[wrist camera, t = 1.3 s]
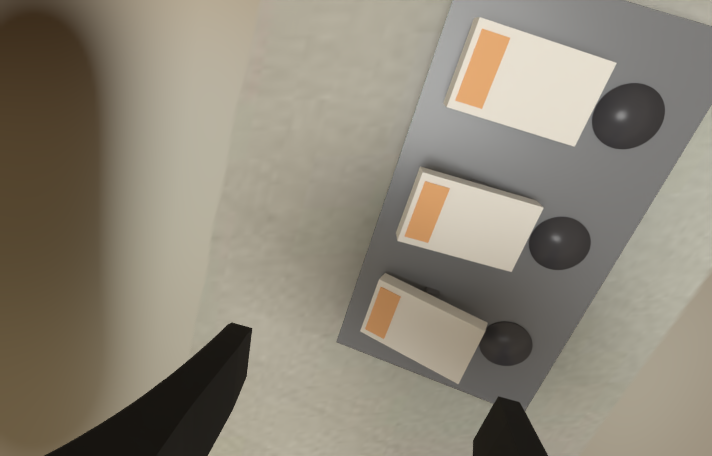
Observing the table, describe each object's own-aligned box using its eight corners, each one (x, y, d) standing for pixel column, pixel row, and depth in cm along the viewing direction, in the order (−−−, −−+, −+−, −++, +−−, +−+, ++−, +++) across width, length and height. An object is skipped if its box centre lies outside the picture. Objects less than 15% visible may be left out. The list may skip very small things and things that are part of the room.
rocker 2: (505, 263, 19) (511, 272, 18) (396, 232, 18) (397, 241, 18) (536, 200, 18) (544, 208, 17) (420, 166, 17) (422, 172, 16)
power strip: (516, 381, 24) (524, 422, 21) (347, 316, 25) (333, 347, 22) (832, -166, 14) (920, -221, 12) (538, -240, 15) (555, -307, 13)
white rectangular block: (461, 374, 20) (458, 385, 19) (366, 323, 21) (359, 332, 21) (487, 322, 19) (485, 332, 18) (385, 272, 20) (378, 279, 19)
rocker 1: (565, 141, 17) (575, 147, 16) (442, 103, 16) (447, 107, 15) (604, 61, 16) (617, 63, 15) (474, 17, 15) (480, 16, 14)
